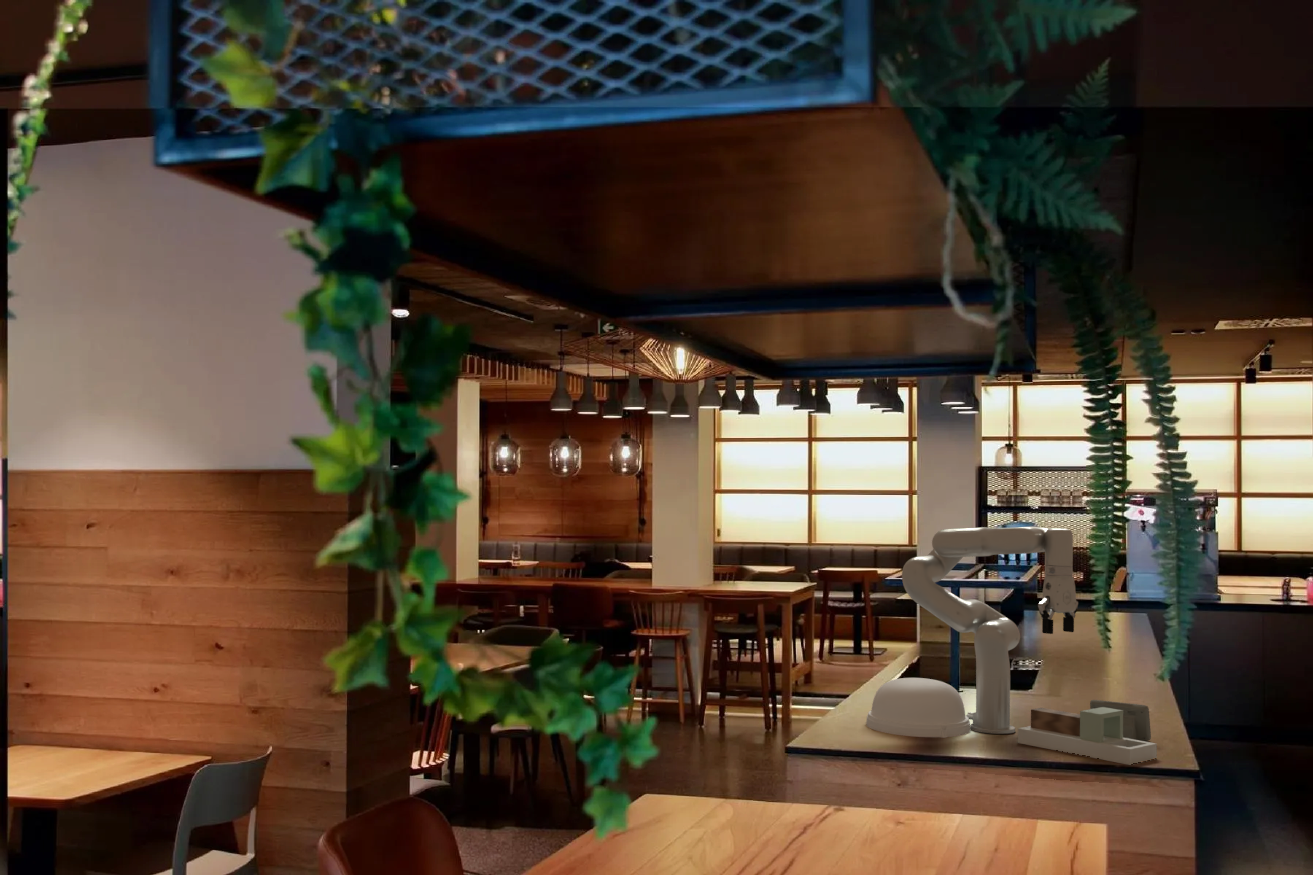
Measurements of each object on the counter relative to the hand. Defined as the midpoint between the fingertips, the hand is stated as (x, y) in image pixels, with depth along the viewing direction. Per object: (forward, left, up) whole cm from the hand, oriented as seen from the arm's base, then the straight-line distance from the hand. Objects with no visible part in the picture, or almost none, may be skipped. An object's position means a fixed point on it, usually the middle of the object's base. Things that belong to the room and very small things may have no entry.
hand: (1058, 632), depth 351 cm
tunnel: (+18, -8, -26) cm, 33 cm away
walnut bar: (+6, -8, -26) cm, 28 cm away
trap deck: (+14, -8, -30) cm, 34 cm away
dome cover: (-34, -19, -30) cm, 49 cm away
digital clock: (+10, +15, -30) cm, 35 cm away
